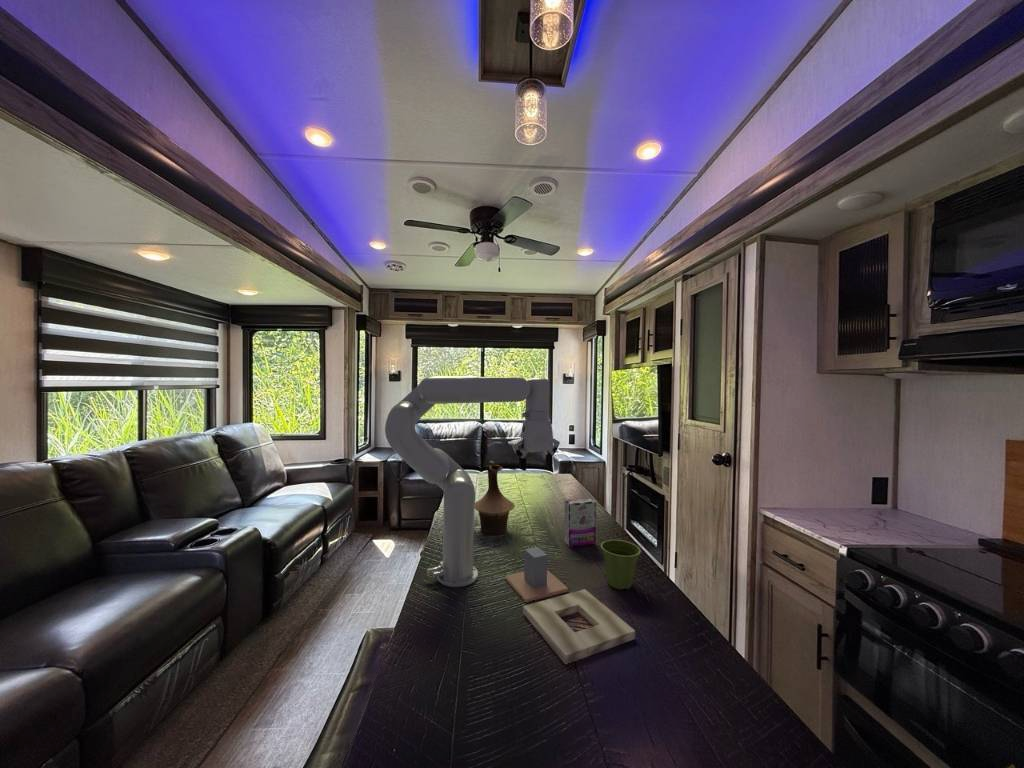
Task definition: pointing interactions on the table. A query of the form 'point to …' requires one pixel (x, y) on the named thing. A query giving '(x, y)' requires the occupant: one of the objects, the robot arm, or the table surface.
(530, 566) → the block
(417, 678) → the table surface
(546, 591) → the tile
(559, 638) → the holder
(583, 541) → the candy bar box
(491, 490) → the brown vase
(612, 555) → the plant pot
